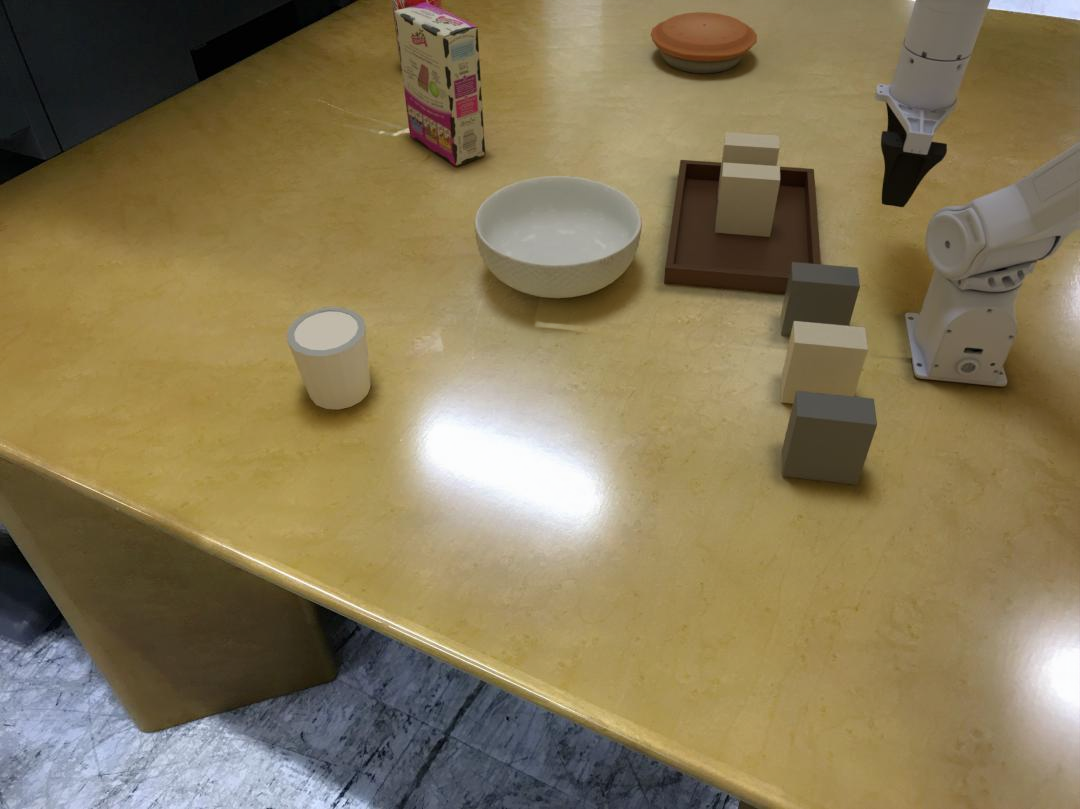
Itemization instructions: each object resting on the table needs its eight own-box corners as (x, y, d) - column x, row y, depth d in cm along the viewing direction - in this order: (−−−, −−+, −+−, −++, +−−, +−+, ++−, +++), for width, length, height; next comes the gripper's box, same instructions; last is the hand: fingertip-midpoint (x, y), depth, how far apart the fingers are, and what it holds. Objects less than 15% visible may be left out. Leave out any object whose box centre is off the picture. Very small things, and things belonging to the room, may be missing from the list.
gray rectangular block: (843, 345, 86) (860, 286, 81) (779, 339, 87) (792, 280, 82) (841, 326, 88) (857, 267, 83) (779, 320, 89) (791, 261, 84)
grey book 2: (857, 485, 73) (877, 424, 68) (782, 476, 74) (796, 416, 69) (854, 458, 75) (874, 398, 70) (781, 450, 76) (796, 390, 71)
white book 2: (769, 237, 99) (780, 180, 94) (714, 232, 99) (722, 176, 95) (769, 222, 101) (780, 166, 96) (715, 218, 102) (723, 162, 97)
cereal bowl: (499, 336, 88) (495, 277, 83) (464, 245, 100) (459, 188, 95) (661, 305, 91) (666, 246, 86) (609, 220, 103) (611, 164, 98)
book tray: (817, 301, 91) (822, 280, 89) (663, 287, 93) (665, 267, 92) (809, 188, 107) (814, 168, 105) (678, 178, 109) (680, 159, 108)
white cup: (343, 354, 87) (330, 296, 82) (392, 384, 83) (381, 325, 78) (287, 393, 83) (269, 334, 78) (336, 425, 80) (321, 365, 75)
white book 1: (769, 204, 104) (779, 148, 99) (717, 200, 104) (724, 144, 100) (769, 190, 106) (779, 135, 101) (718, 187, 107) (725, 132, 102)
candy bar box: (488, 155, 115) (480, 25, 103) (456, 168, 112) (444, 36, 101) (439, 125, 121) (426, -1, 110) (408, 136, 119) (391, 9, 108)
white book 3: (849, 410, 80) (868, 349, 75) (780, 402, 80) (794, 342, 76) (847, 387, 82) (865, 327, 77) (780, 380, 83) (793, 320, 78)
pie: (629, 51, 137) (631, 18, 134) (712, 31, 142) (716, -2, 139) (687, 89, 127) (691, 54, 124) (774, 65, 132) (780, 31, 129)
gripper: (892, 8, 84) (856, 139, 93) (887, 78, 74) (847, 216, 84) (972, 16, 82) (926, 149, 92) (977, 89, 73) (926, 229, 82)
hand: (893, 182), depth 88 cm, fingers open, 7 cm apart
